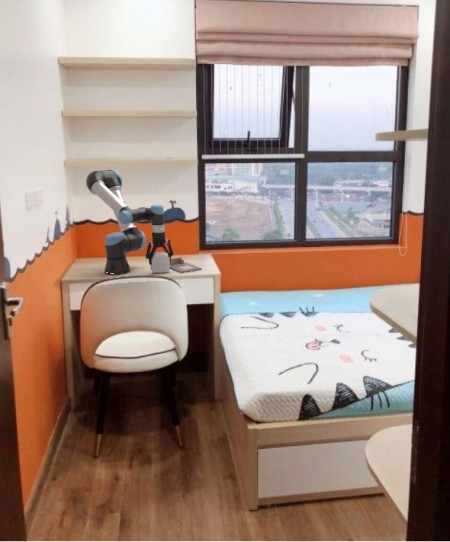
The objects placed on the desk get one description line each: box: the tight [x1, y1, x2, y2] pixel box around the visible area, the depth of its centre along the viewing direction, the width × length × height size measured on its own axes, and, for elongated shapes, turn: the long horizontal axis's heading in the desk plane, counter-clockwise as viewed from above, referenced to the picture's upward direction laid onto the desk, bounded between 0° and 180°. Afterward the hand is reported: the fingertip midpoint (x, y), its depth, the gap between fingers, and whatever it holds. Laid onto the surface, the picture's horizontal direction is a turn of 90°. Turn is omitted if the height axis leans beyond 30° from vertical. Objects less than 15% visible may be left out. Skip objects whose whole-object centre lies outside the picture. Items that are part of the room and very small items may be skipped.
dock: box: [169, 256, 203, 274], centre depth 321 cm, size 14×22×4 cm, turn 32°
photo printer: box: [151, 251, 170, 274], centre depth 310 cm, size 10×4×12 cm, turn 98°
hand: (160, 268), depth 311 cm, fingers closed on photo printer, 10 cm apart
